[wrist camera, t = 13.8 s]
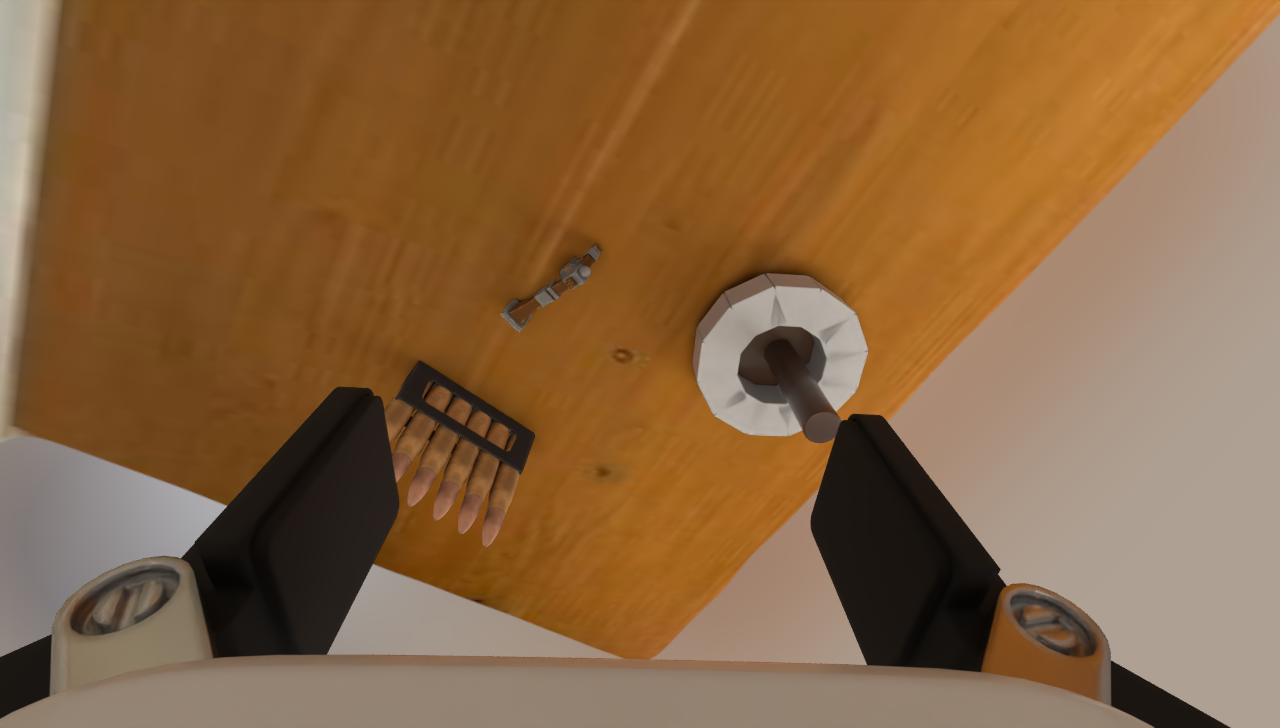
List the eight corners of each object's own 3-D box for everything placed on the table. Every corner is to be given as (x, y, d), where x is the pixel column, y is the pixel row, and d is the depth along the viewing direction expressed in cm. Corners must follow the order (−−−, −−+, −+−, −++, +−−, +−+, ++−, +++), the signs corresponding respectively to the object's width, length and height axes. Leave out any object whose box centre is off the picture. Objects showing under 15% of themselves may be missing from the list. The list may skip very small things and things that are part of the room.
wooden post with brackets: (617, 250, 36) (593, 287, 33) (544, 298, 41) (517, 334, 38) (599, 229, 36) (573, 264, 32) (527, 280, 40) (498, 316, 37)
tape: (703, 269, 37) (709, 282, 34) (868, 278, 38) (885, 291, 35) (686, 412, 42) (689, 432, 40) (830, 418, 43) (843, 439, 40)
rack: (732, 293, 39) (768, 361, 29) (840, 301, 39) (911, 371, 30) (715, 389, 42) (742, 478, 33) (814, 395, 43) (870, 486, 33)
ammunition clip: (535, 434, 44) (506, 545, 33) (522, 448, 45) (490, 561, 34) (419, 360, 41) (345, 456, 30) (407, 376, 41) (330, 476, 31)
